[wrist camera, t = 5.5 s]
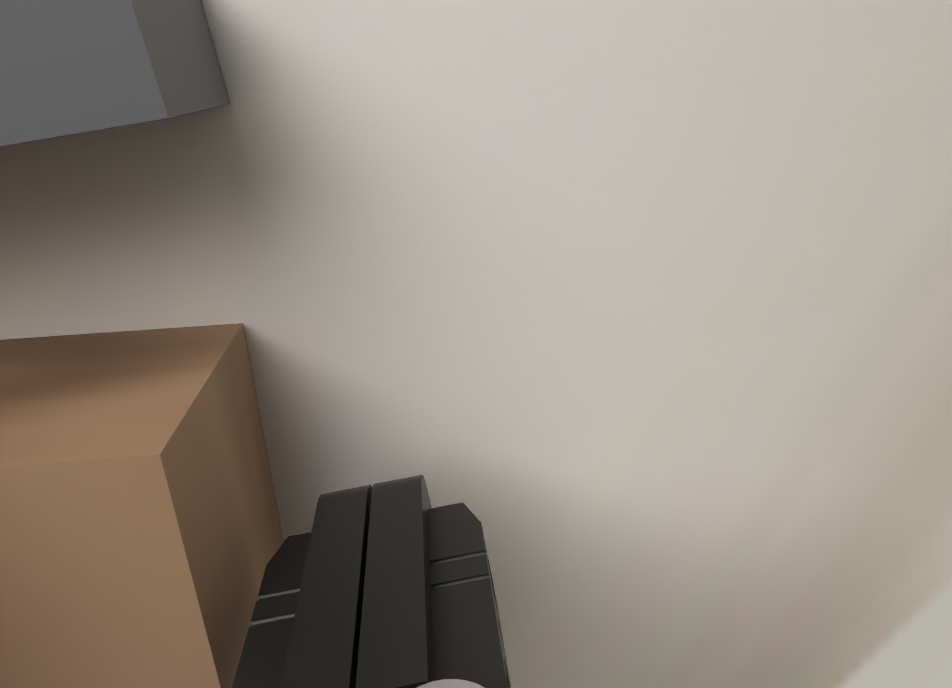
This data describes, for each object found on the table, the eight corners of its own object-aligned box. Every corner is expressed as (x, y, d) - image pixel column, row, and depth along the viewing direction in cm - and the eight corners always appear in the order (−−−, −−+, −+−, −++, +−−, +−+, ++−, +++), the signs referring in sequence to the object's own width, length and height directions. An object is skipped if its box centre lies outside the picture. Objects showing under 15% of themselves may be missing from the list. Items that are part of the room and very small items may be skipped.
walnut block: (246, 316, 10) (160, 454, 7) (308, 649, 13) (270, 876, 9) (-236, 348, 10) (-614, 517, 6) (-68, 688, 13) (-262, 944, 9)
